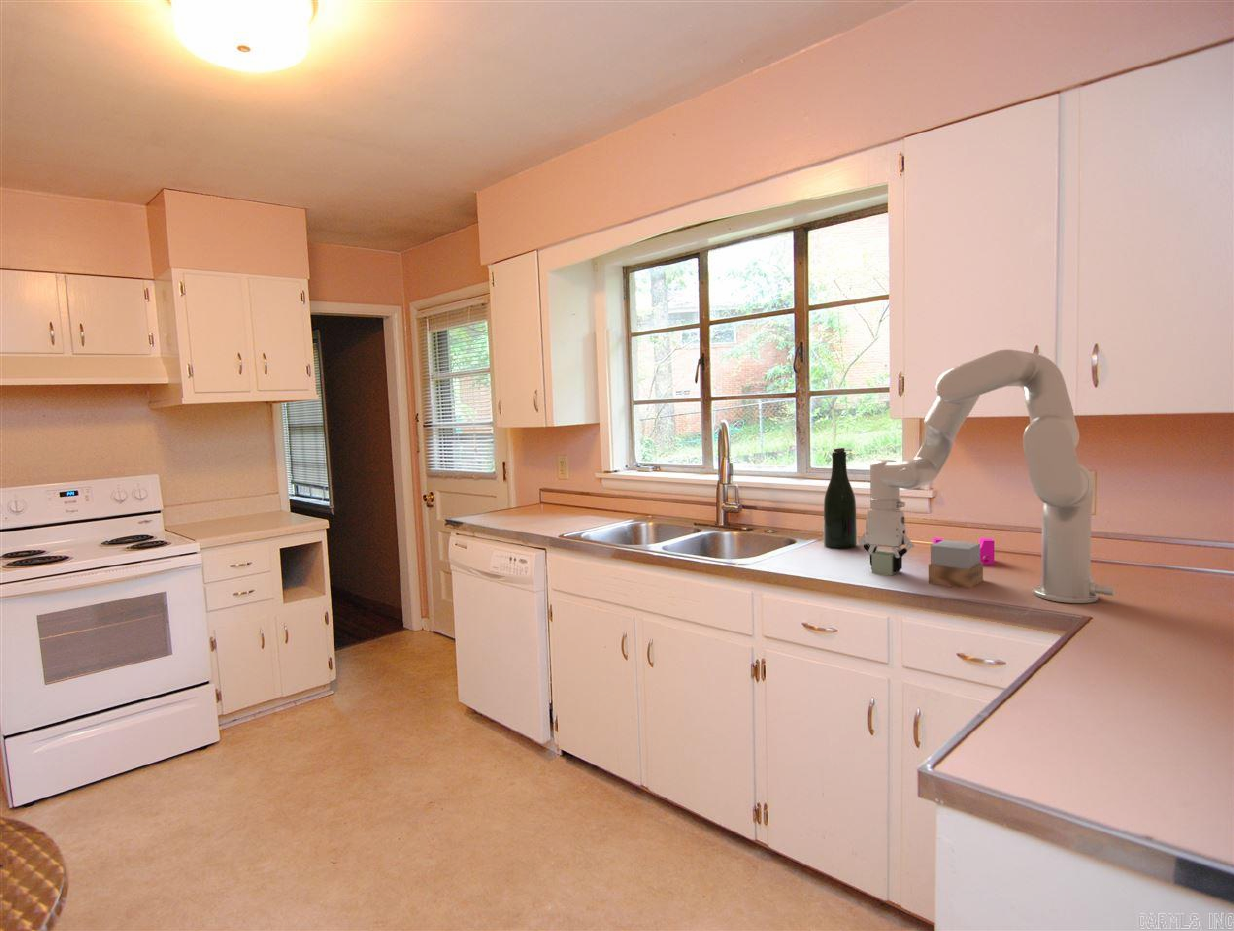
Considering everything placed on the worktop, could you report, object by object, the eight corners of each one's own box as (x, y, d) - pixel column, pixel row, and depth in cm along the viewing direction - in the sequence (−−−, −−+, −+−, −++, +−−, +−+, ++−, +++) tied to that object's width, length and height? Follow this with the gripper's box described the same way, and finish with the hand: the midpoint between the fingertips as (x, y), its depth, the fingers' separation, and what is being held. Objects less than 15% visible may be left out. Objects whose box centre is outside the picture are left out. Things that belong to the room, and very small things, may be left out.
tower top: (980, 562, 172) (980, 543, 172) (968, 569, 166) (968, 549, 165) (943, 558, 178) (943, 540, 178) (930, 564, 172) (930, 545, 171)
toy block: (988, 562, 193) (988, 536, 192) (994, 567, 187) (994, 540, 186) (931, 561, 197) (931, 536, 196) (935, 565, 191) (935, 539, 190)
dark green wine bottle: (824, 544, 227) (822, 447, 224) (857, 544, 223) (855, 446, 221) (823, 550, 217) (821, 449, 214) (857, 551, 213) (856, 448, 211)
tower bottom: (982, 581, 172) (983, 562, 172) (970, 589, 165) (970, 570, 165) (942, 576, 179) (942, 557, 179) (928, 584, 172) (928, 564, 172)
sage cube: (899, 571, 185) (899, 552, 184) (891, 575, 181) (891, 555, 180) (879, 569, 189) (879, 550, 188) (871, 573, 185) (871, 553, 184)
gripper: (922, 505, 180) (922, 571, 181) (860, 501, 192) (861, 563, 193) (911, 508, 175) (912, 576, 176) (848, 504, 187) (849, 568, 188)
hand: (885, 569), depth 185 cm, fingers closed on sage cube, 5 cm apart
